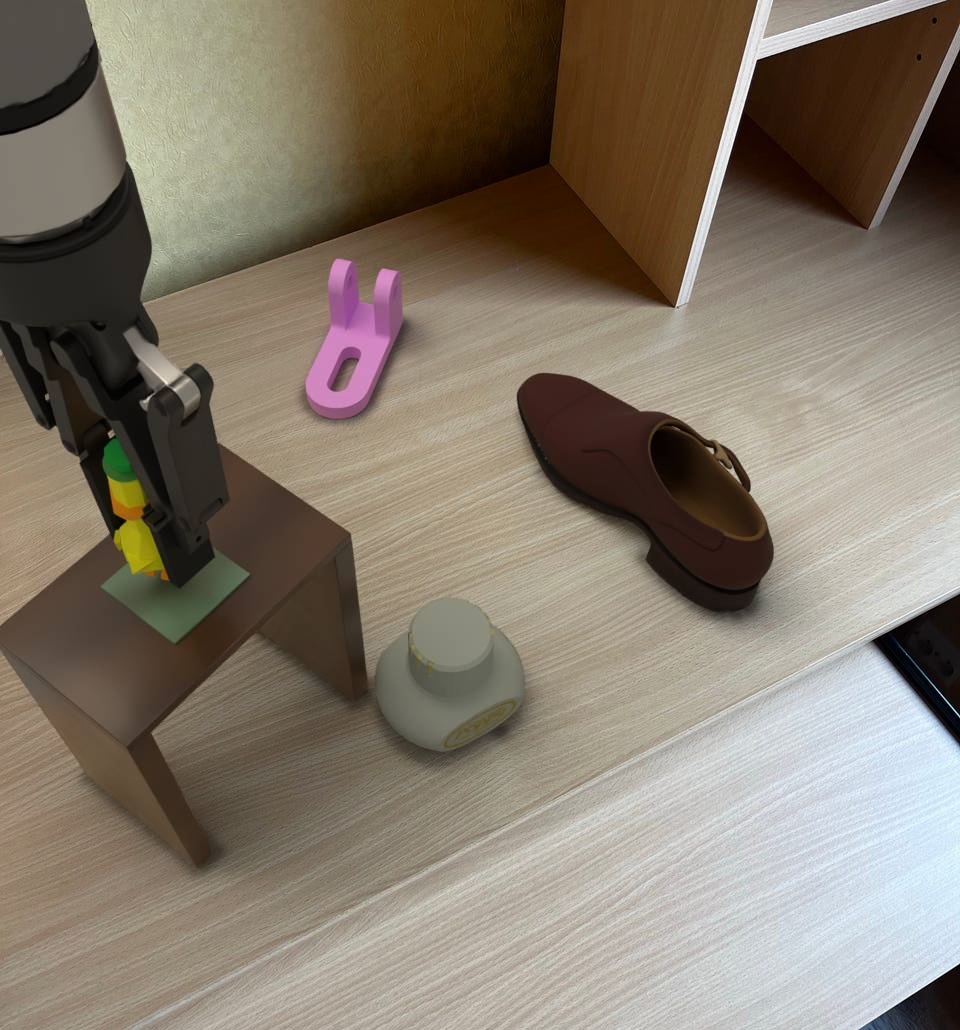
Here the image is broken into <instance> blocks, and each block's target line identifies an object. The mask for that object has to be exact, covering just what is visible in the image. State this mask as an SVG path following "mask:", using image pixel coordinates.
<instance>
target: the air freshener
mask: <svg viewBox="0 0 960 1030" xmlns="http://www.w3.org/2000/svg"><path fill="white" fill-rule="evenodd" d="M525 677H526V676H525V669H524V665H523V662H522V658H521V656H520V654H519V652H518V650H517V648H516V647H515V645H514V644H513V642H512V641H511V640H510V638H509V637H508V636H507V635H506V634H505V633H504V632H503V631H502V630H501V629H499V627H497V626H495V625H494V624H493V623H492V621H491V620H490V616H489V615H488V613H487V612H485V611H484V610H483V609H482V608H481V607H480V606H479V605H477V604H476V603H471V602H470V601H469V600H467V599H464V598H459V597H442V598H438V599H434V600H432V601H430V602H428V603H426V604H425V605H423V606H422V607H420V608H419V609H418V610H417V611H416V613H414V615H413V617H412V618H411V619H410V623H409V626H408V630H407V631H405V632H404V633H402V634H401V635H399V636H398V637H397V638H395V639H393V641H392V642H390V644H388V645H387V646H386V647H385V649H383V650H382V652H381V654H379V658H378V660H377V662H376V666H375V674H374V691H375V696H376V701H377V704H378V706H379V708H380V711H381V713H382V715H383V717H384V718H385V720H386V721H387V722H388V724H389V725H390V726H391V727H392V728H393V729H394V731H395V732H396V733H397V734H399V735H400V736H401V737H403V738H404V739H406V741H409V742H410V743H412V744H415V745H417V746H418V747H421V748H424V749H427V750H431V751H437V752H440V753H441V752H443V753H444V752H449V751H453V750H455V749H458V748H461V747H463V746H466V745H467V744H469V743H472V742H473V741H476V740H478V739H479V738H481V737H482V736H485V735H486V734H488V733H489V732H491V731H492V730H494V729H495V728H497V727H498V726H500V725H501V724H502V723H504V722H505V721H506V720H507V719H509V718H510V717H511V716H512V715H513V714H514V713H515V712H516V711H517V710H518V709H519V708H520V707H521V705H522V703H523V699H524V696H525V690H526V678H525Z"/></svg>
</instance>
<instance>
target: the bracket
mask: <svg viewBox="0 0 960 1030" xmlns="http://www.w3.org/2000/svg"><path fill="white" fill-rule="evenodd" d="M328 275H329V276H328V281H327V282H328V283H327V297H328V306H329V315H330V316H329V317H330V328H329V330H328V333H327V335H326V337H325V339H324V341H323V344H322V345H321V347H320V349H319V351H318V353H317V356H316V357H315V359H314V362H313V364H312V366H311V368H310V370H309V372H308V375H307V377H306V379H305V393H306V399H307V403H308V405H309V407H310V409H312V410H313V411H314V412H315V413H316V414H317V415H320V416H322V417H325V418H328V419H333V420H344V419H348V418H351V417H354V416H356V415H358V414H359V413H361V412H362V411H364V410H365V409H366V407H367V406H368V404H369V402H370V400H371V398H372V395H373V393H374V390H375V388H376V387H377V384H378V381H379V379H380V376H381V374H382V372H383V370H384V367H385V365H386V363H387V360H388V358H389V356H390V353H391V351H392V348H393V347H394V344H395V341H396V339H397V337H398V335H399V332H400V330H401V328H402V325H403V323H404V318H403V317H404V315H403V288H402V274H401V271H397V270H392V269H389V268H388V269H387V268H381V270H380V271H379V272H378V275H377V278H376V281H375V285H374V290H373V304H372V303H367V302H364V301H363V302H362V301H360V295H359V285H358V284H359V283H358V270H357V264H356V262H355V261H351V260H347V259H343V258H336V259H335V260H334V261H333V263H332V265H331V268H330V272H329V274H328ZM348 359H356V360H358V362H357V364H356V367H355V369H354V371H353V373H352V375H351V377H350V380H349V382H348V384H347V386H346V388H345V389H343V390H341V391H333V390H332V386H333V384H334V383H335V380H336V378H337V376H338V373H339V371H340V369H341V367H342V365H343V363H344V362H345V361H346V360H348Z"/></svg>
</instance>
